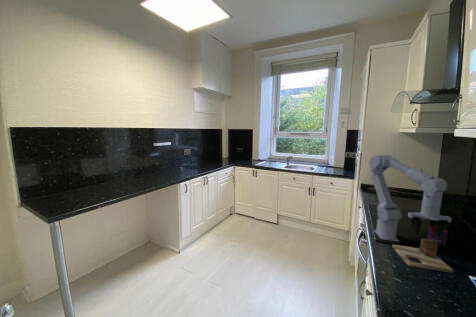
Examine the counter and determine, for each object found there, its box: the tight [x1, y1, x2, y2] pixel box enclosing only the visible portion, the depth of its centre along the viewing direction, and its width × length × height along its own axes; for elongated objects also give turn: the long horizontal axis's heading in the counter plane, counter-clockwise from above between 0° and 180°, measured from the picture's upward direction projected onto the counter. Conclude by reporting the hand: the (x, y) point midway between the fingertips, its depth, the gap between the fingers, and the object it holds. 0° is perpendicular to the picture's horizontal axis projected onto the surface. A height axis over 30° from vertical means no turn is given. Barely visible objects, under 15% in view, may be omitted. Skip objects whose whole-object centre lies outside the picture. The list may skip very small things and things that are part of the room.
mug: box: [426, 225, 449, 246], centre depth 101 cm, size 7×10×7 cm
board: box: [391, 244, 454, 274], centre depth 86 cm, size 14×15×2 cm
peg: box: [419, 238, 439, 257], centre depth 87 cm, size 4×4×6 cm
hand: (426, 234), depth 87 cm, fingers open, 7 cm apart
